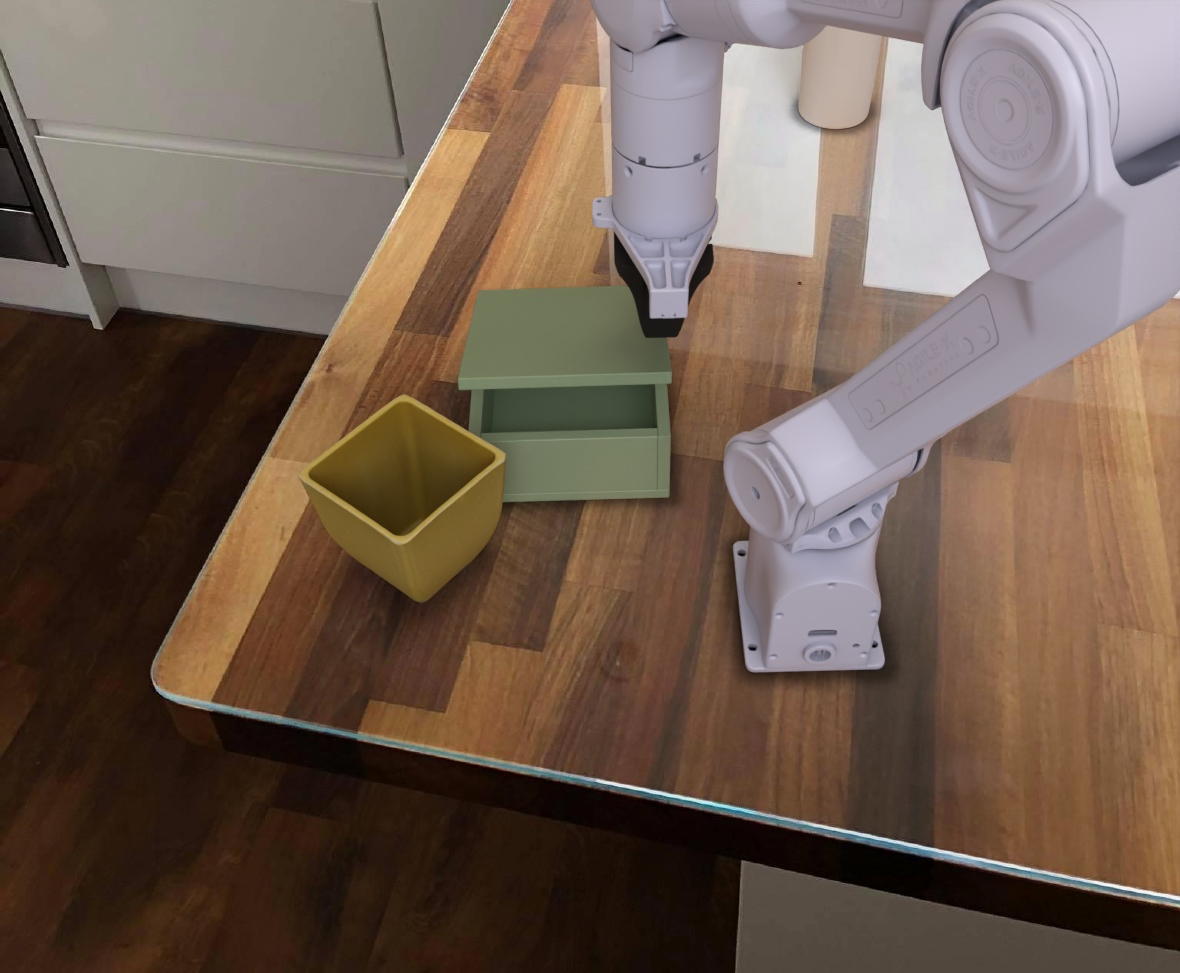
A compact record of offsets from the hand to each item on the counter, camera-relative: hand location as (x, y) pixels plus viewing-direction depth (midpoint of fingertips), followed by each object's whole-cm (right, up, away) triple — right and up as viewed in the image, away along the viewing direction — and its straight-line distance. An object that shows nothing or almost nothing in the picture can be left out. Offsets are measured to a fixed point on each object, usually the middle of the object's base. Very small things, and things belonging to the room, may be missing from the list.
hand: (660, 330), depth 75 cm
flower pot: (-15, -14, +2) cm, 21 cm away
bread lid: (-6, 0, +3) cm, 7 cm away
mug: (+18, +25, +36) cm, 47 cm away
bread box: (-6, -5, +9) cm, 12 cm away
